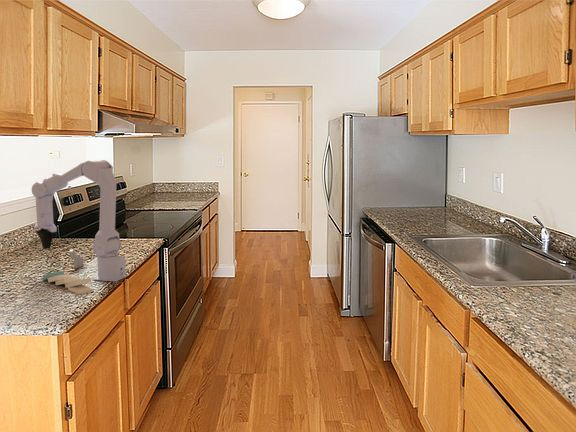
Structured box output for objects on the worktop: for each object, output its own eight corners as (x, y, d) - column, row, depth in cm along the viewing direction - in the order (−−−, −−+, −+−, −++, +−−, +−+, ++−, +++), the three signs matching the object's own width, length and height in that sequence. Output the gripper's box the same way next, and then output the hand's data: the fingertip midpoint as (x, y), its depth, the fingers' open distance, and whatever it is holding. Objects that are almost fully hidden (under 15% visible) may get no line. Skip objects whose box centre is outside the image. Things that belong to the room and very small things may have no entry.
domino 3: (78, 285, 190) (91, 282, 185) (65, 287, 186) (77, 284, 181) (77, 280, 190) (90, 277, 185) (64, 283, 186) (77, 280, 181)
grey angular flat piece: (79, 265, 221) (78, 246, 220) (83, 265, 221) (82, 246, 220) (69, 269, 214) (68, 249, 213) (73, 269, 214) (72, 250, 213)
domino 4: (82, 288, 188) (93, 293, 183) (68, 291, 185) (79, 296, 179) (81, 284, 188) (93, 288, 183) (68, 287, 185) (79, 291, 179)
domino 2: (69, 282, 194) (78, 280, 188) (55, 285, 190) (64, 283, 185) (69, 278, 194) (78, 275, 188) (55, 281, 190) (64, 278, 185)
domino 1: (62, 280, 197) (69, 278, 191) (48, 282, 194) (55, 280, 188) (61, 276, 198) (69, 273, 192) (47, 278, 194) (54, 276, 188)
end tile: (56, 277, 201) (64, 275, 196) (43, 279, 198) (50, 277, 192) (56, 273, 202) (63, 270, 196) (42, 275, 198) (49, 273, 192)
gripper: (26, 212, 206) (28, 247, 208) (42, 216, 196) (44, 252, 198) (44, 211, 211) (46, 244, 213) (61, 214, 202) (63, 249, 203)
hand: (46, 248), depth 206 cm, fingers closed
